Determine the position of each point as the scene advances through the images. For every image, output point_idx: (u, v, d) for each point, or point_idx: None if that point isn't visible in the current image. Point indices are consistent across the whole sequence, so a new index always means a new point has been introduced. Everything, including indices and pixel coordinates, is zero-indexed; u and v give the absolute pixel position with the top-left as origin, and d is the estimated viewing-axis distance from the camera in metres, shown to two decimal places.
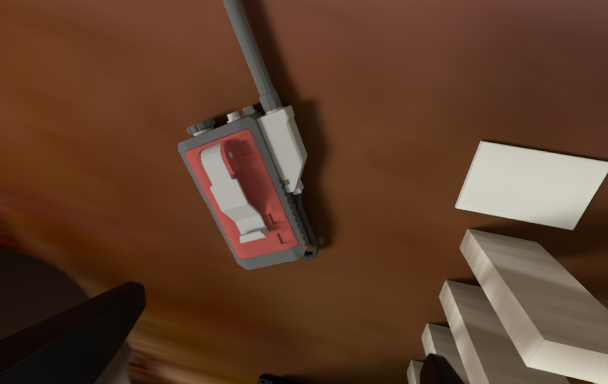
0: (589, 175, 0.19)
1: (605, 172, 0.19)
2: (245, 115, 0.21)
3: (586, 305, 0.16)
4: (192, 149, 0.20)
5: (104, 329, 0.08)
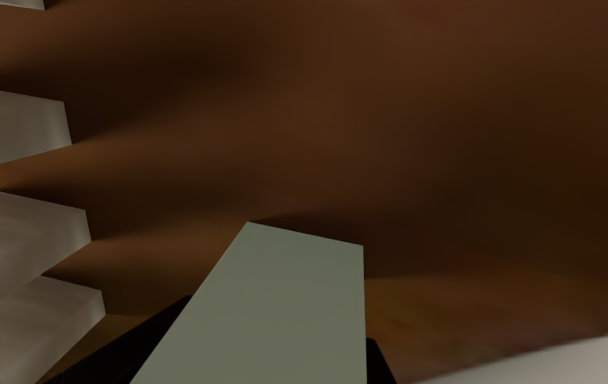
0: None
1: None
2: None
3: None
4: None
5: None
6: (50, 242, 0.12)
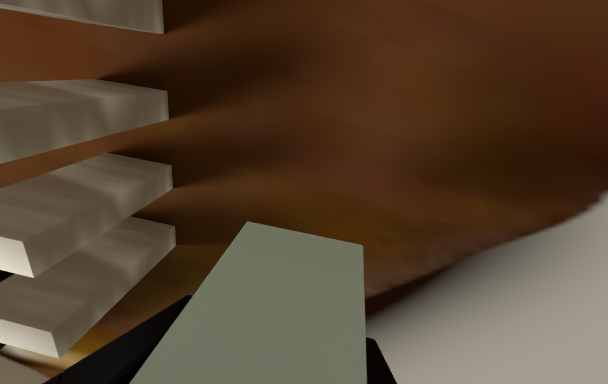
0: None
1: None
2: None
3: None
4: None
5: None
6: (155, 182, 0.19)
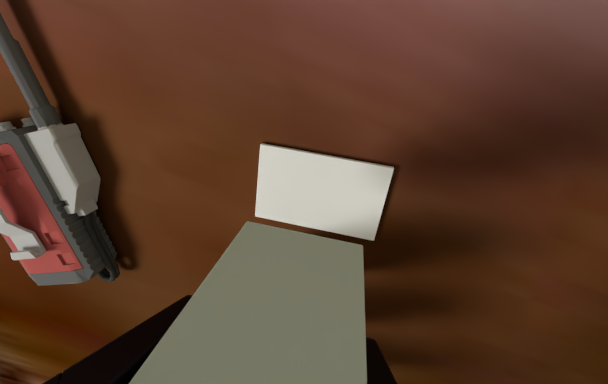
0: (374, 181, 0.17)
1: (389, 178, 0.17)
2: (23, 126, 0.19)
3: None
4: None
5: None
6: None
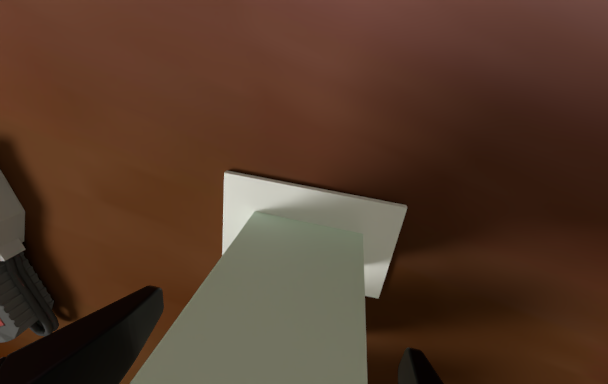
0: (379, 224, 0.13)
1: (400, 220, 0.12)
2: None
3: None
4: None
5: (125, 334, 0.08)
6: None
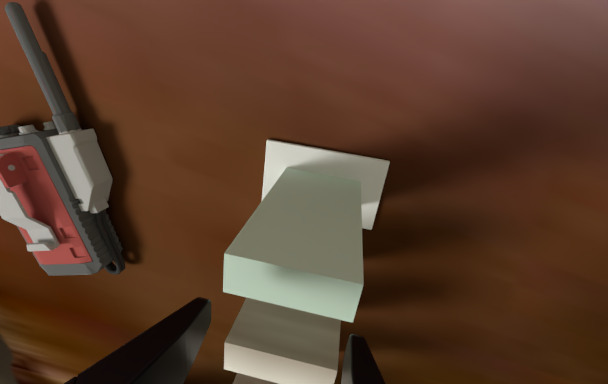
0: (372, 174, 0.19)
1: (385, 171, 0.18)
2: (45, 129, 0.21)
3: None
4: None
5: (183, 349, 0.08)
6: None
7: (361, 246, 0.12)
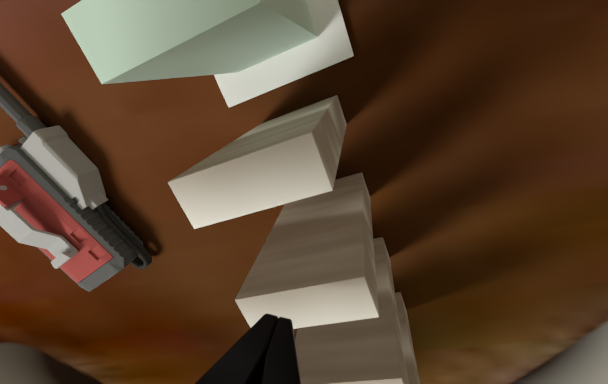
0: None
1: None
2: None
3: (298, 122, 0.11)
4: None
5: (261, 370, 0.07)
6: (387, 260, 0.19)
7: None
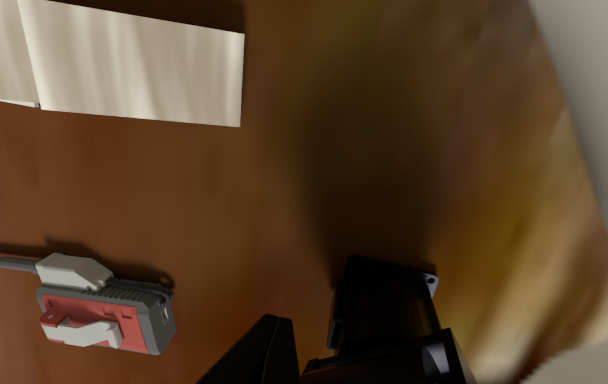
0: None
1: None
2: None
3: None
4: None
5: (261, 370, 0.07)
6: None
7: None
